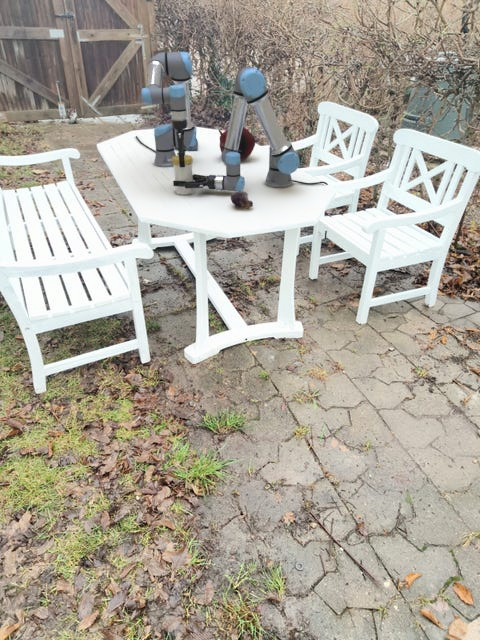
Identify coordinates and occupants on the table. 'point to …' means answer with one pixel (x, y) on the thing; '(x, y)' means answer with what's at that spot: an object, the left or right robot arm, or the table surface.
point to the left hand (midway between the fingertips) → (182, 164)
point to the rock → (241, 200)
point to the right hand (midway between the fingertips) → (176, 180)
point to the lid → (187, 159)
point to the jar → (183, 178)
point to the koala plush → (191, 146)
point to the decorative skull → (245, 143)
